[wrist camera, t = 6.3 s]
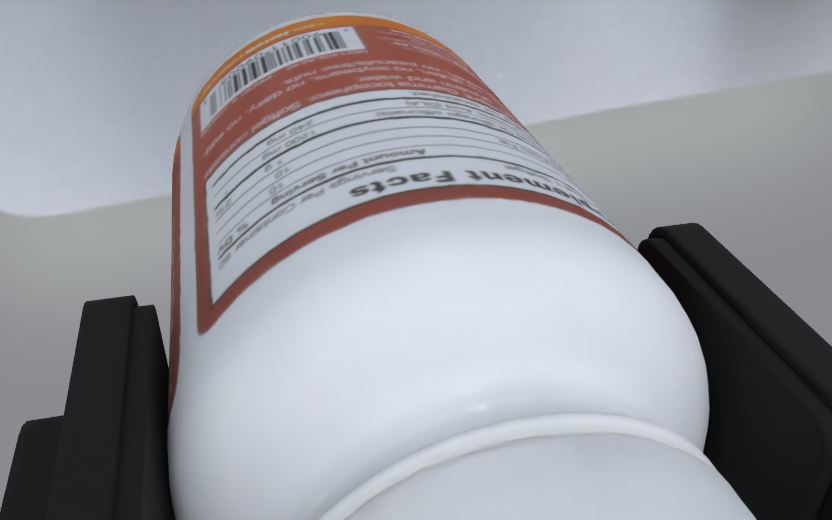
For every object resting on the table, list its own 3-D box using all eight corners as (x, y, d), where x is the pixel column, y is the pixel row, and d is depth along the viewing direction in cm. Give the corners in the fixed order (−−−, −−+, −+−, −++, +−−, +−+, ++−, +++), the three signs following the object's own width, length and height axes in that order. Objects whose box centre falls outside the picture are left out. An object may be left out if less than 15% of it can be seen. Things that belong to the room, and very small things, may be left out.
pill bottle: (402, 325, 18) (624, 915, 9) (126, 245, 15) (42, 972, 6) (547, 81, 16) (1052, 550, 7) (250, -64, 13) (405, 386, 4)
